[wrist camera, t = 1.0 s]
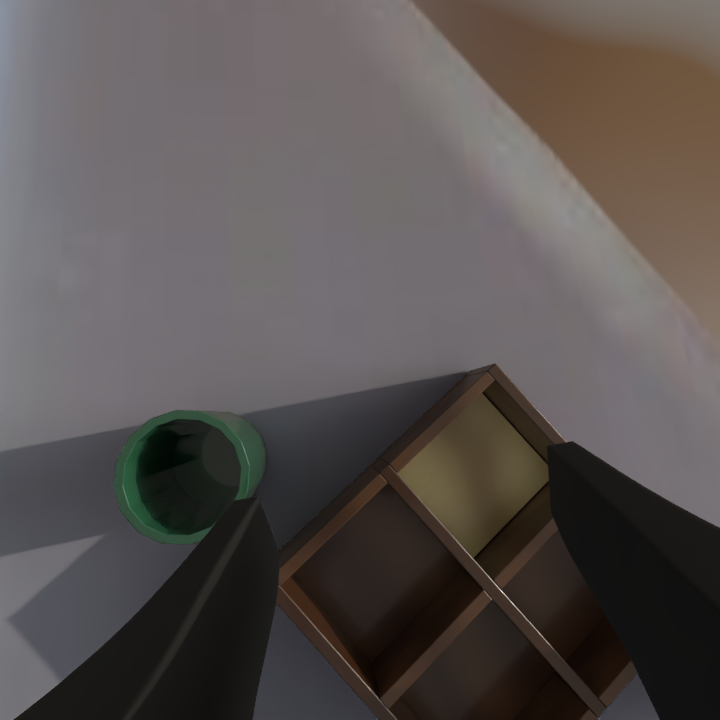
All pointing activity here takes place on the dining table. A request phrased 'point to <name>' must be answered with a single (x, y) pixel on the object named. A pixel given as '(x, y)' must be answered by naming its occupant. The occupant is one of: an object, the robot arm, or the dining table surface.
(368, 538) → the rack
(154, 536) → the tumbler
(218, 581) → the robot arm
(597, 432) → the dining table surface
